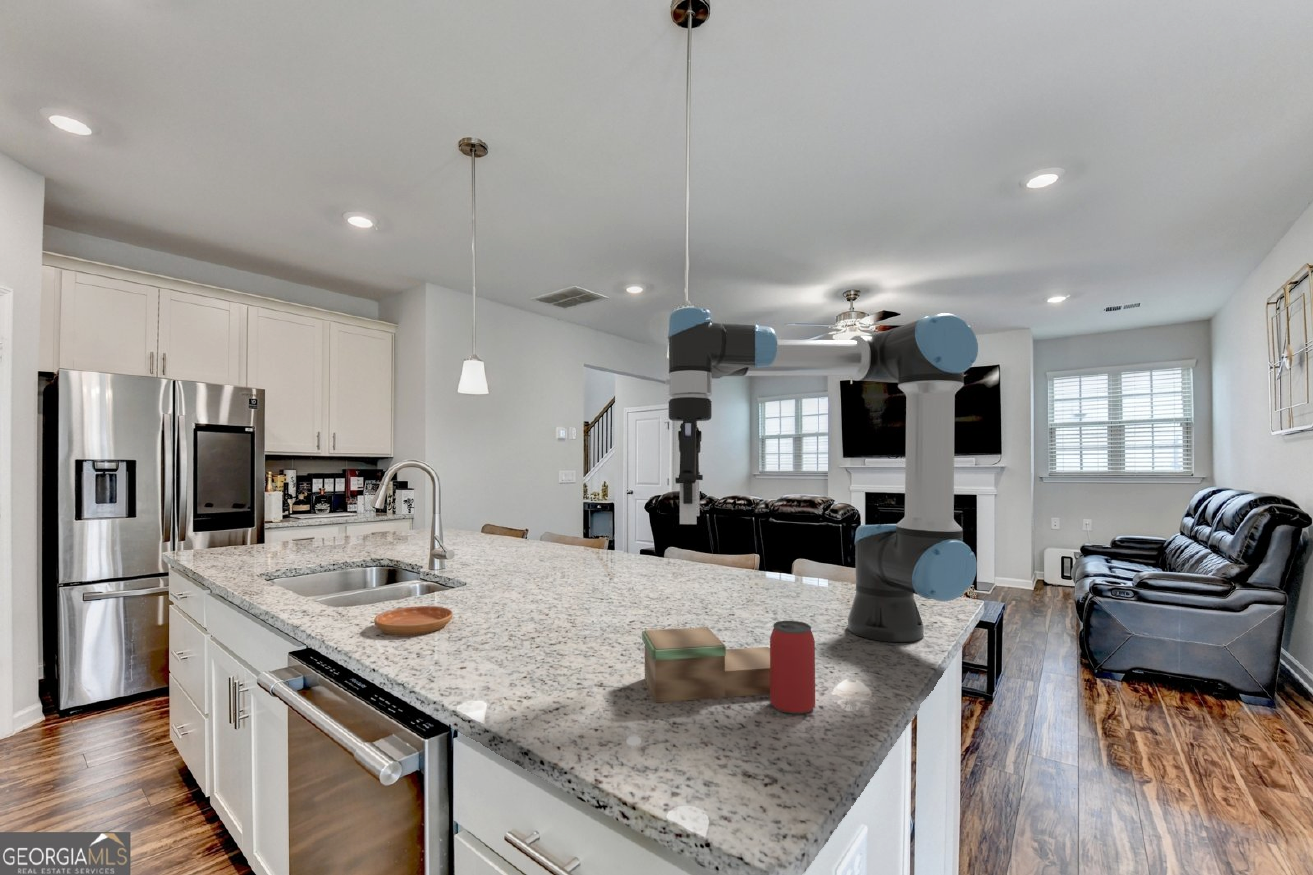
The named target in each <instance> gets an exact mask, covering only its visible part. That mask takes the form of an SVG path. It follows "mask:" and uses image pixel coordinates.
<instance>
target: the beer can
mask: <svg viewBox="0 0 1313 875" xmlns="http://www.w3.org/2000/svg"><path fill="white" fill-rule="evenodd" d="M772 627H773V629H772V631H771V633H770V638H769V648H770V694H769V700H770V703H771V706H772V707H774V708H775V709H776V710H778V711H779V712H782V713H785V714H790V715H791V714H792V715H803V714H807V713H809V712H811V711H813V710H814V709H815V708H816V640H815V637H814V634H813V632H812V626H811V625H810V624H808V623H806V622H803V621H798V620H779V621H776V622H774V623H773V625H772Z"/></svg>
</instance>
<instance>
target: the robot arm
mask: <svg viewBox="0 0 1313 875" xmlns="http://www.w3.org/2000/svg"><path fill="white" fill-rule="evenodd" d="M668 322H669V323H668V335H667V339H668V378H669V379H665V381H664V382H665V383H664V384H665V385H667V386H668V395H669V396H670V397H672V398H670V399H669V400H668V419H669V420H670V421H673V422H674V421H675V422H681V423H680V426H679V429H680V430H677V431H678V433H677V437H678V438H677V440H678V451H679V453H680V454H679V474H678V477H675V479H674V481H675V484H676V485H677V484H678V485H679V525H697V523H698V522H697V521H698V520H697V518H698V517H700V481H704V480H703V479H704V478H703V476H704V475H703V474H701V473H700V463H699V462H700V461H699V460H700V459H699V457H700V456H699V454H700V453H701V448H702V447H701V442H702V438H703V437H702V435H703V434H702V430H700V429H699V427H698V422H707V421H710V420H711V419H712V413H713V412H712V400H711V399H710V398H709V397H711V396H712V395H713V394H712V393H713V392H712V391H713V384H712V382H713V379H715V380H716V379H717V380H718V379H721V378H723V377H749V376H750V377H767V376H768V377H777V376H778V377H848V378H849V379H850V380H852V381H856V382H857V381H861V382H863V381H864V382H865V381H866V382H867V381H868V382H881V383H897V388H898V389H899V390H900V391H902V392H903V393H904V395H905V397H906V399H905V400H906V401H905V402H906V403H905V404H906V405H905V407H906V408H905V412H906V414H905V464H904V465H905V468H904V469H905V471H904V472H905V476H904V477H905V478H904V479H905V480H904V483H905V484H904V485H905V486H904V488H905V489H904V490H905V491H904V517H903V518H902V519H900V521H898V522H897V523H887V524H886V523H884V524H883V523H882V524H863V525H859V526H858V527H857V528H856V530H855V536H854V546H855V547H854V548H855V549H854V550H855V553H854V554H855V595H854V598H853V602H852V605H851V607H850V611H849V614H848V617H847V629H848V631H849V632H850V633H851V634H854V635H856V636H858V637H861V638H865V639H870V640H874V641H875V640H876V641H880V642H891V643H894V642H895V643H905V642H906V643H910V642H915V641H919V640H921V639H923V638H924V635H925V634H924V632H925V631H924V629H925V628H924V623H923V620H922V617H921V614H920V611H919V608H918V605H917V602H916V600H915V595H918V596H919V597H921V598H924V599H926V600H935V601H937V602H950V601H954V600H956V599H958V598H960V597H962V596H963V595H964V594H965V593H966V591H968V590H969V589H970V588H971V587H972V585H973V584H974V581H975V577H976V574H977V569H978V568H977V567H978V563H977V559H976V555H975V553H974V552H973V551H972V549H971V547H970V546H969V545H968V544H966V543H965V542H964V541H963V528H962V527H961V526H960V524H958V523H957V521H956V520H955V519H954V518H955V517H954V516H955V515H954V514H955V513H954V511H955V510H954V505H955V414H956V413H955V406H956V405H955V402H956V401H955V400H956V398H955V397H956V396H955V395H956V394H957V392H958V391H960V390H961V389H962V388H963V387H964V385H965V383H964V382H965V380H964V377H965V376H964V375H965V372H966V371H968V370H969V369H970V368H972V366H973V363H975V362H976V361H977V358H978V355H979V354H978V353H979V343H978V338H977V336H976V332H974V330H973V328H972V326H970V325H968V323H967V322H966V321H965V320H964V319H963V318H961V317H960V316H958V315H955V314H953V313H945V312H943V313H938V314H935V315H927V316H924V317H922V318H920V319H918V320H915V321H912V322H910V323H905V324H904V325H903V324H902V325H901V326H897V327H894V328H891V329H889V330H884V331H882V332H878V333H873V334H868V335H854V336H852V337H851V338H850V339H849V340H847V339H783V338H782V339H779V338H778V337H777V334H776V331H775V330H774V328H772V327H769V326H765V325H758V324H738V323H733V324H732V323H720V322H713V318H712V313H711V311H710V310H708V309H707V308H701V307H696V306H695V307H694V306H693V307H692V306H691V307H682V308H678V309H675V310H674V311H673V312H671V314H670V315H669V321H668Z"/></svg>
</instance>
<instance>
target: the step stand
mask: <svg viewBox="0 0 1313 875" xmlns="http://www.w3.org/2000/svg"><path fill="white" fill-rule="evenodd" d="M641 640H642V642H643V644H644V680H645V682H646V685H647V687H648V689H649V691H650V693H651V696H652V698H653V701H654V702H655V703H669V702H683V701H696V700H707V699H720V698H721V699H723V698H733V697H734V698H735V697H748V696H759V695H770V646H769V647H768V646H761V647H745V648H744V647H743V648H728V649H727V647H726V645H725V643H723V642H722V641H721V640H720V639H719V637H717V635H716V634H715V633H714V632H713V631H712V630H711V629H710V628H709V627H708V626H703V627H686V628H685V627H684V628H683V627H681V628H666V629H646V630H641Z"/></svg>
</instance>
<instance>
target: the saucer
mask: <svg viewBox="0 0 1313 875" xmlns="http://www.w3.org/2000/svg"><path fill="white" fill-rule="evenodd" d="M453 612H454V611H452V610H451V609H449V608H446V607H443V606H436V605H435V606H434V605H433V606H432V605H430V606H429V605H428V606H427V605H426V606H425V605H424V606H422V605H421V606H408V607H399V608H394V609H391V610H388V611H387V610H386V611H384V612H382V613H379V614H377V615H376V616H375V617H374V619H373V620H374V625H375V627H376V628H378V629H379V630H380V631H381V632H382V633H384V634H386V635H389V636H398V637H406V636H407V637H408V636H409V637H410V636H418V635H425V634H428V633H429V634H430V633H433V632H437V631H440V630H441V629H443V628H444V627H445V626H446V625H447V624H449V622H450V621H451V620H452V618H453V615H454V614H453Z"/></svg>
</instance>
